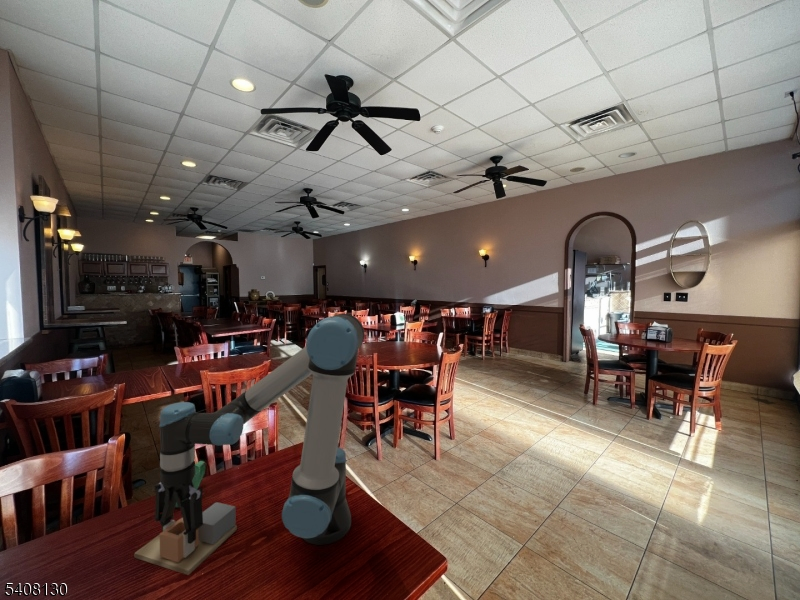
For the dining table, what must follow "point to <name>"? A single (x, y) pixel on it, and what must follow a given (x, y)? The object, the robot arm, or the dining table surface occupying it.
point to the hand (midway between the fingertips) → (179, 550)
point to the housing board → (186, 564)
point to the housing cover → (216, 522)
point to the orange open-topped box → (174, 541)
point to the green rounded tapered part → (198, 475)
